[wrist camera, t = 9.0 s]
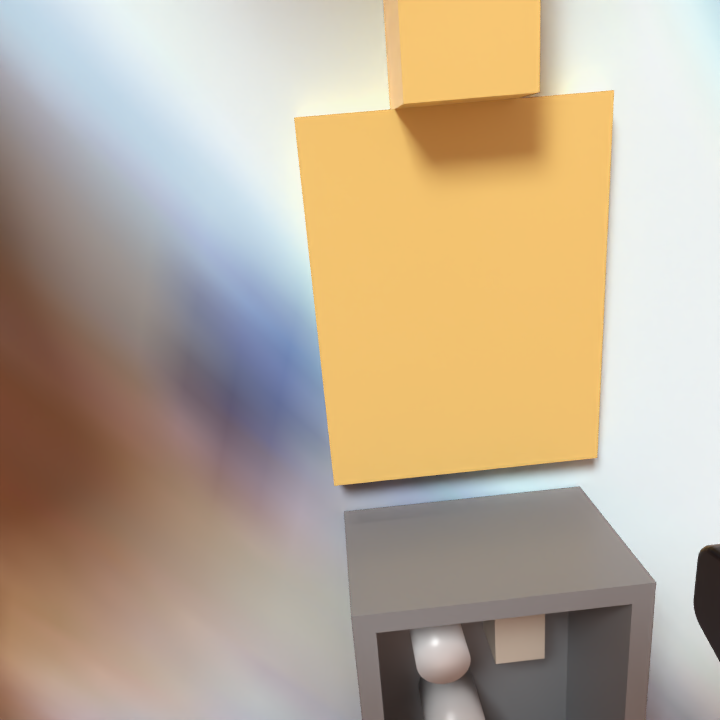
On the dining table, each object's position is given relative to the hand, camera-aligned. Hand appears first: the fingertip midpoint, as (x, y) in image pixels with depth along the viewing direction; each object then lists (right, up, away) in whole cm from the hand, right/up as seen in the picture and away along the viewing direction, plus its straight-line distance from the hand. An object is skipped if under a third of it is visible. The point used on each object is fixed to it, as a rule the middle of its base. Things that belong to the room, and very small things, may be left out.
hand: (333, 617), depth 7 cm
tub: (+4, -6, +15) cm, 17 cm away
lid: (+3, +7, +11) cm, 13 cm away
